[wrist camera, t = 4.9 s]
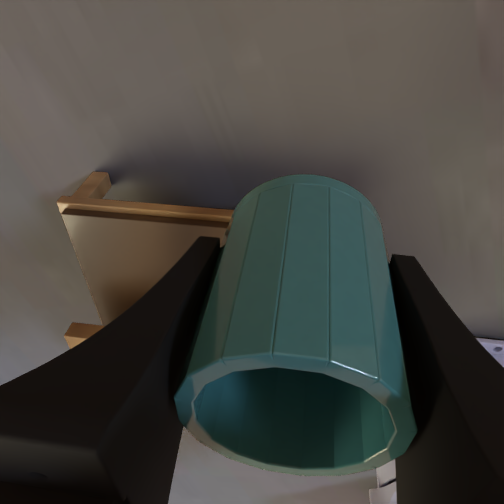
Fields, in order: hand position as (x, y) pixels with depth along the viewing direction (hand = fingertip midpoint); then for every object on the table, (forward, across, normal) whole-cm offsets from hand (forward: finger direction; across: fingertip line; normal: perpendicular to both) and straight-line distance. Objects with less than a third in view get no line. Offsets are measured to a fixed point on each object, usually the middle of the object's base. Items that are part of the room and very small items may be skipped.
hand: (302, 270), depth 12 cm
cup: (+1, 0, 0) cm, 1 cm away
